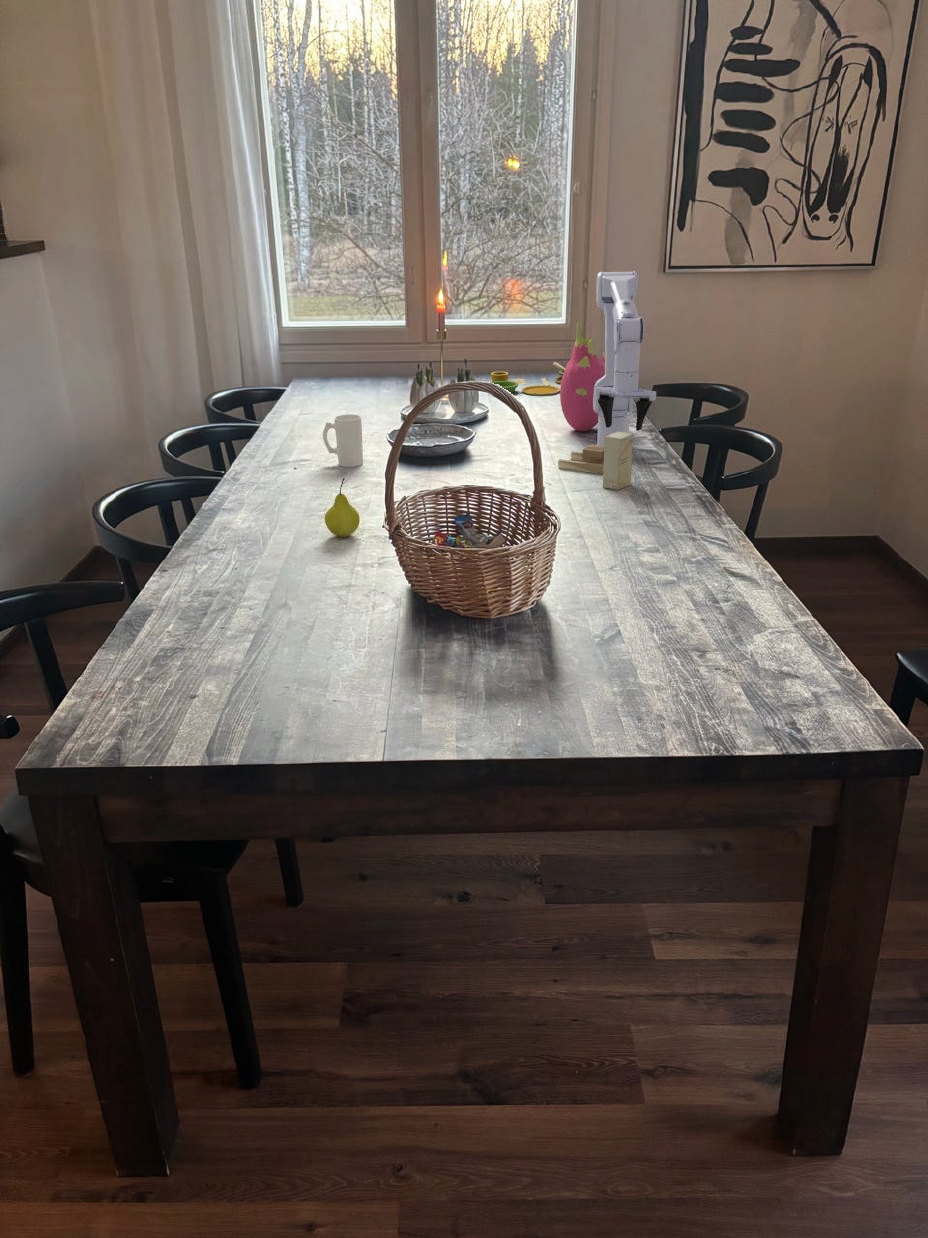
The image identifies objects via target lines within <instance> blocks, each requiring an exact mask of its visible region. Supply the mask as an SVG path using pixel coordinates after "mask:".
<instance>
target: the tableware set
mask: <svg viewBox="0 0 928 1238" xmlns="http://www.w3.org/2000/svg"><path fill="white" fill-rule="evenodd" d="M552 365H553V366H554V367H556V368H557V369H559V371H558V373H559V375H560V376H558V377H555V379H554V381H555V382H556V383H557V384H558V385H561V381H562V377H563V373H564V371H565V368H566V367H564V366H562V365H561V364H560V363H558V362H556V361H554V362H553V363H552ZM490 377H491V380H492V381H490V382H491V383H494V384H499V385H500V386H502V388H504V389H506V390H508V391H509V392H511V393H512V394H514V393H515V390H516V389H517V388H518V387H519V386H520V385H519V384H523V385H522V386H525V385H527V383H526V379H524V378H514V379H509V371H493V372H491V373H490ZM541 381H542V383H543V385H528V386H525V387H523V388H521V392H522V393H523V394H525V395H528V396H535V397H536V396H540V397H544V396H553V395H556V394H558V393H560V388H561V387H557V386H554V385H552V383H551V382H550V381H548V380H547V378H546V377H541ZM524 384H525V385H524ZM513 392H514V393H513Z"/></svg>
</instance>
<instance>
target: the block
mask: <svg viewBox="0 0 928 1238" xmlns="http://www.w3.org/2000/svg"><path fill="white" fill-rule="evenodd" d="M582 452H583V456H582V461H581V462H586V463H594V464H602V465H604V446H599V445H595V444H589V445H587V446H585V447H584V448H583V449H582Z"/></svg>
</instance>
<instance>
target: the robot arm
mask: <svg viewBox="0 0 928 1238" xmlns="http://www.w3.org/2000/svg"><path fill="white" fill-rule="evenodd" d="M638 278H639V276H638V273H637V272H636V270H633V271H610V272H609V271H605V272H604V271H599V272H598V273H597V276H596V284H595V285H596V287H595V288H596V301H595V302H596V307H598V308H599V309H601V310H603V314H604V319H605V323H604V324H605V325H604V328H605V329H604V330H605V333H604V335H605V336H604V343H605V344H604V352H605V375H604V376H603V377H602V378H601V379H599V380H598V381H597V382H596V383H595V385H594V394H593V409H594V411H595V412H596V413H598V423H597V437H596V438H597V439H596V440H597V441H596V444H594V445H599V446H604V443H605V436H607V435H610V434H612V433H615V432H617V431H619V432H625V433H630V432H629V431H630V418H629V416H628V413H631V411H633V404H634V400H637V401H635V407H636V422H635V423H636V424H635V430H636V431H638V432H640V431H641V430H642V428H643V424H644V421H645V417H646V415H647V414H648V411H649V408H650V407H651V405H652V403H653V402H655V401H656V400H657V391H655V390H647V389H642V388H639V376H640V375H639V373H640V355H641V354H640V353H641V344H642V343H643V341H644V340H643V339H644V335H645V324H644V323H645V322H644V319H643V316H639V314H638V313H639V312H638V309H637V305H636V303H635V300H636V296H637V294H638V288H639V279H638Z"/></svg>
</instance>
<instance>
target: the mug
mask: <svg viewBox="0 0 928 1238" xmlns="http://www.w3.org/2000/svg"><path fill="white" fill-rule="evenodd" d="M333 420H334V423H332V422H331V421H326V422H325V425H324V428H323V432H322V440H323V442H324V445H325V447H326V449H327V451H328V453H329V454H334V455H337V459H338V460H337V461H338V466H339V467H344V468H356V467H359V466H362V465H363V464H364V455H363V453H364V452H363V451H364V450H363V425H362V416H361V415H359V414H353V413H352V414H351V413H350V414H340V415H336V416H334V417H333ZM330 429H334V431H335V439H336V441H335V442H336V447H333V446H331V445H332V444H330V443H329V442H330V441H329V439H328V432H329V430H330Z"/></svg>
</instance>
